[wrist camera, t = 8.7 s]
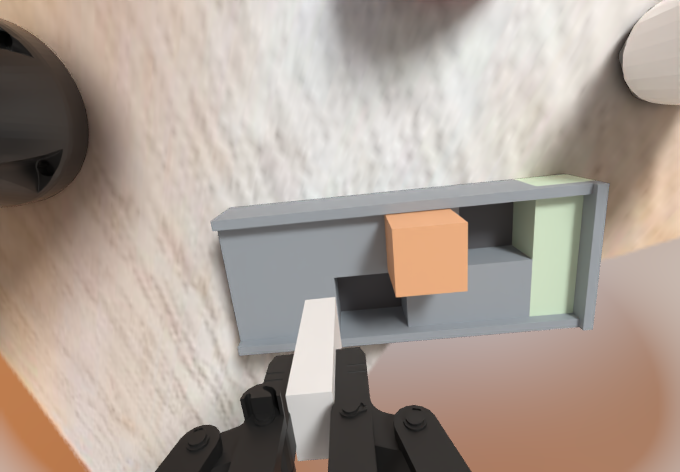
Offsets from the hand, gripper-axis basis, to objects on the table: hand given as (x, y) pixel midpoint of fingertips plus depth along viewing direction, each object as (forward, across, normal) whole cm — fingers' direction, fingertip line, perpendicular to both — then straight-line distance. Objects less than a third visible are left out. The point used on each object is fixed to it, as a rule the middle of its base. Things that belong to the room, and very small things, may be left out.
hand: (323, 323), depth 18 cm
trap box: (+16, +6, -3) cm, 17 cm away
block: (+12, +7, 0) cm, 14 cm away
